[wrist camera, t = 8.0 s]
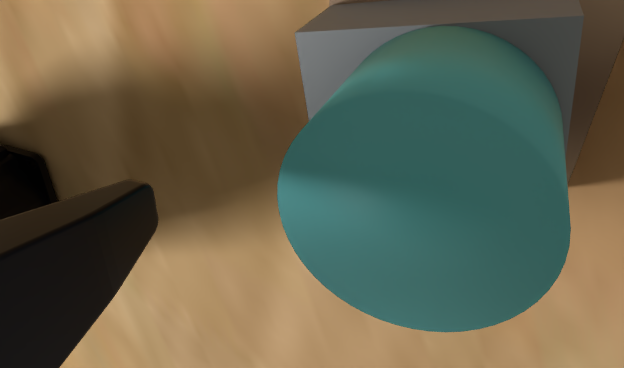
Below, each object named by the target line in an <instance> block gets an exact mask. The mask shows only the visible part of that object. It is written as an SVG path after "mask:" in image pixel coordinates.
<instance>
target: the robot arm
mask: <svg viewBox="0 0 624 368" xmlns="http://www.w3.org/2000/svg"><path fill="white" fill-rule="evenodd" d="M157 225H158V214H157V208H156V203H155V197H154V192H153V189H152V187H151V186H150V185H149V184H147V183H144V182H140V181H136V180H125V181H122V182H119V183H116V184H113V185H109V186H106V187H103V188H100V189H97V190H94V191H90V192H87V193H84V194H81V195H78V196H75V197H71V198H68V199H65V200H62V201H59V202H57V199H56V196H55V193H54V190H53V187H52V184H51V181H50V177H49V174H48V171H47V168H46V165H45V162H44V160H43V159H42V157H41V156H40V155H38V154H36V153H33V152H29V151H25V150H21V149H18V148H14V147H10V146H6V145H2V144H0V368H59V367H60V366H61V365H62V364H63V362H64V361H65V360H66V358H67V357H68V356H69V355H70V353H71V352H72V351H73V349H74V348H75V347H76V346H77V344H78V343H79V342H80V340H81V339H82V338H83V337H84V335H85V334H86V333H87V331H88V330H89V329H90V328H91V326H92V325H93V324H94V322H95V321H96V320H97V319H98V317H99V316H100V315H101V313H102V312H103V311H104V309H105V308H106V307H107V306H108V304H109V303H110V301H111V300H112V299H113V297H114V296H115V295H116V293H117V292H118V290H119V289H120V287H121V286H122V284H123V282H124V281H125V279H126V278H127V276H128V274H129V273H130V271H131V270H132V268H133V266H134V265H135V263H136V262H137V260H138V258H139V257H140V255H141V254H142V252H143V250H144V249H145V247H146V246H147V244H148V242H149V241H150V239H151V238H152V236H153V234H154V233H155V231H156V229H157Z"/></svg>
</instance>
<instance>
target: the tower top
mask: <svg viewBox="0 0 624 368" xmlns="http://www.w3.org/2000/svg"><path fill="white" fill-rule="evenodd" d="M583 20H584V14H583V11H582V8H581V5H580V2H579V0H389V1H376V2H364V3H351V4H338V5H331V6H330V7H329V8H327V9H326V10H325V11H323V12H322V13H320V14H319V15H318V16H316V17H315V18H314V19H312V20H311V21H310V22H308V23H307V24H306V25H304V26H303V27H302V28H300V29H299V30H298V31H296V32H295V37H296V44H297V50H298V56H299V62H300V68H301V75H302V81H303V87H304V93H305V99H306V106H307V112H308V118H309V121H310V120H311V119H312V118H313V116H314V115H315V114H316V113H317V112H318V111H319V110H320V109H321V107H322V106H323V105H324V104H325V103H326V102H327V101H328V100H329V98H330V97H331V96H332V95H333V94H334V93H335V92H336V91H337V89H338V88H339V87H340V86H341V85H342V84H343V83H344V82H345V81H346V79H347V78H348V77H349V76H350V75H351V74H352V73H353V72H354V70H355V69H356V68H357V67H358V66H359V65H360V64H361V63H362V62H363V61H364V60H365V59H366V58H367V57H368V56H369V55H370V54H371V53H372V52H373V51H374V50H376V49H377V48H378V47H380V46H381V45H382V44H384V43H386V42H388V41H389V40H391V39H393V38H395V37H397V36H399V35H402V34H405V33H407V32H410V31H414V30H418V29H422V28H427V27H436V26H459V27H466V28H472V29H477V30H480V31H483V32H487V33H490V34H493V35H495V36H497V37H499V38H502V39H504V40H506V41H508V42H509V43H511V44H512V45H514V46H516V47H517V48H519V49H520V50H521V51H523V52H524V53H525V54H526V55H527V56H529V57H530V58H531V59H532V60H533V61H534V62H535V63H536V64H537V65H538V67H539V68H540V69H541V70H542V71H543V72H544V74H545V75H546V77H547V79H548V80H549V82H550V83H551V85H552V87H553V89H554V91H555V94H556V96H557V98H558V102H559V105H560V109H561V113H562V122H563V134H564V147H565V159H566V151H567V143H568V135H569V128H570V120H571V112H572V105H573V97H574V89H575V81H576V74H577V66H578V58H579V51H580V43H581V35H582V27H583Z"/></svg>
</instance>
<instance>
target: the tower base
mask: <svg viewBox="0 0 624 368" xmlns="http://www.w3.org/2000/svg"><path fill="white" fill-rule="evenodd" d="M376 1H389V0H330V5H329V7H330V6H331V5H338V4H351V3H364V2H376ZM579 2H580V5H581V8H582V11H583V14H584V20H583V27H582V35H581V43H580V51H579V58H578V66H577V74H576V81H575V89H574V97H573V105H572V112H571V120H570V128H569V135H568V143H567V151H566V159H565V160H566V174H567V185H568V182H569V180H570V177H571V175H572V172H573V169H574V167H575V164H576V162H577V159H578V156H579V154H580V151H581V149H582V146H583V143H584V141H585V138H586V136H587V133H588V130H589V128H590V125H591V122H592V120H593V117H594V115H595V112H596V109H597V107H598V104H599V102H600V99H601V96H602V94H603V91H604V89H605V86H606V83H607V81H608V78H609V76H610V73H611V70H612V68H613V65H614V63H615V60H616V57H617V55H618V52H619V50H620V47H621V44H622V42H623V39H624V0H579Z"/></svg>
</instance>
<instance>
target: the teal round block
mask: <svg viewBox="0 0 624 368" xmlns="http://www.w3.org/2000/svg"><path fill="white" fill-rule="evenodd" d="M277 199H278V207H279V213H280V217H281V221H282V224H283V227H284V230H285V232H286V235H287V237H288V240H289V241H290V243H291V245H292V247H293V249H294V251H295V252H296V254H297V255H298V257H299V258H300V260H301V261H302V262H303V264H304V265H305V266H306V267H307V269H308V270H309V271H310V272H311V273H312V274H313V276H314V277H315V278H316V279H318V280H319V281H320V282H321V283H322V284H323V285H324V286H325V287H326V288H327V289H329V290H330V291H331V292H332V293H334V294H335V295H336V296H337V297H339V298H340V299H342V300H343V301H345V302H347V303H348V304H350V305H351V306H353V307H355V308H357V309H359V310H360V311H362V312H364V313H366V314H368V315H371V316H373V317H375V318H378V319H380V320H383V321H386V322H389V323H392V324H395V325H399V326H403V327H407V328H411V329H417V330H424V331H434V332H461V331H469V330H476V329H481V328H485V327H489V326H493V325H496V324H498V323H501V322H504V321H506V320H509V319H511V318H513V317H515V316H517V315H518V314H520V313H522V312H524V311H525V310H527V309H528V308H529V307H531V306H532V305H533V304H535V303H536V302H538V300H539V299H540V298H541V297H542V296H543V295H544V294H545V293H546V292H547V291H548V290H549V289H550V288H551V286H552V285H553V283H554V282H555V281H556V279H557V278H558V276H559V274H560V272H561V270H562V268H563V265H564V263H565V261H566V257H567V253H568V249H569V244H570V231H571V227H570V213H569V200H568V187H567V174H566V160H565V147H564V134H563V122H562V113H561V109H560V105H559V102H558V98H557V96H556V94H555V91H554V89H553V87H552V85H551V83H550V82H549V80H548V79H547V77H546V75H545V74H544V72H543V71H542V70H541V69H540V68H539V67H538V65H537V64H536V63H535V62H534V61H533V60H532V59H531V58H530V57H529V56H527V55H526V54H525V53H524V52H523V51H521V50H520V49H519V48H517V47H516V46H514V45H512V44H511V43H509V42H508V41H506V40H504V39H502V38H499V37H497V36H495V35H493V34H490V33H487V32H483V31H480V30H477V29H472V28H466V27H459V26H436V27H427V28H422V29H418V30H414V31H410V32H407V33H405V34H402V35H399V36H397V37H395V38H393V39H391V40H389V41H388V42H386V43H384V44H382V45H381V46H380V47H378V48H377V49H376V50H374V51H373V52H372V53H371V54H370V55H369V56H368V57H367V58H366V59H365V60H364V61H363V62H362V63H361V64H360V65H359V66H358V67H357V68H356V69H355V70H354V72H353V73H352V74H351V75H350V76H349V77H348V78H347V79H346V81H345V82H344V83H343V84H342V85H341V86H340V87H339V88H338V89H337V91H336V92H335V93H334V94H333V95H332V96H331V97H330V98H329V100H328V101H327V102H326V103H325V104H324V105H323V106H322V107H321V109H320V110H319V111H318V112H317V113H316V114H315V115H314V116H313V118H312V119H311V120H310V121H309V122H308V123H307V124H306V125H305V126H304V128H303V129H302V130H301V131H300V132H299V134H298V135H297V136H296V138H295V139H294V140H293V142H292V143H291V145H290V147H289V149H288V151H287V152H286V154H285V156H284V159H283V162H282V165H281V168H280V173H279V179H278V192H277Z"/></svg>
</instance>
